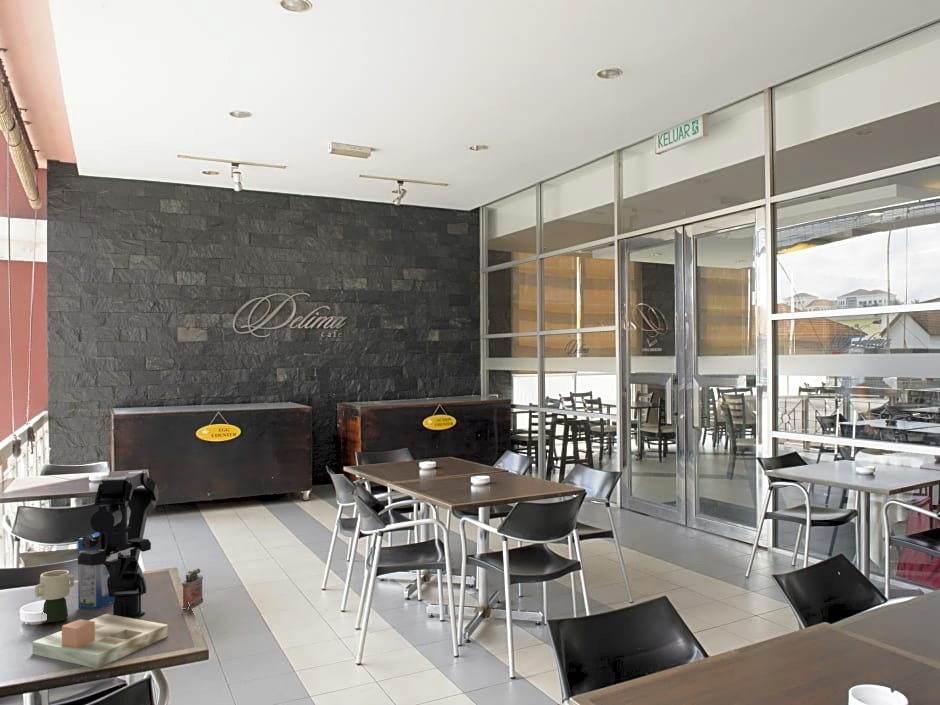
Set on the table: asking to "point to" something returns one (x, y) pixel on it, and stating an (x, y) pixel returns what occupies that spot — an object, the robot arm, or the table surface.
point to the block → (78, 633)
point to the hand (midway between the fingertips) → (115, 584)
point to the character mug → (54, 593)
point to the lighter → (192, 589)
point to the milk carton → (92, 583)
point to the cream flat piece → (104, 641)
